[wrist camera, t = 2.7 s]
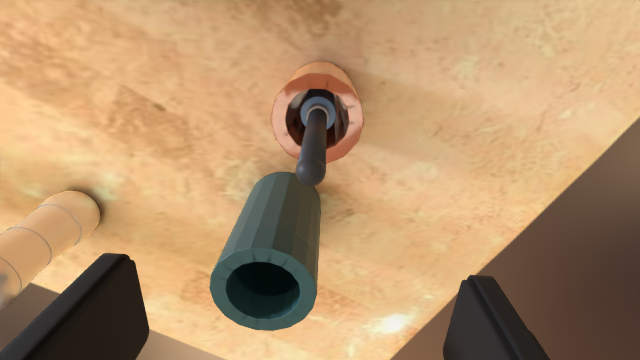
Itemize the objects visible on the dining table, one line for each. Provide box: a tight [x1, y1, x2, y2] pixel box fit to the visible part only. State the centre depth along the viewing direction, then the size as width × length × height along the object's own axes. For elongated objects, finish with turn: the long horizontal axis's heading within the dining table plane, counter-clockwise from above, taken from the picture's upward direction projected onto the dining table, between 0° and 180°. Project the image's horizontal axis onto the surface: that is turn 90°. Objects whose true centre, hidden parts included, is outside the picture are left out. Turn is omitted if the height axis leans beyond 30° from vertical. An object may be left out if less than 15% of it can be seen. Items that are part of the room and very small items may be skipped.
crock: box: [271, 62, 364, 164], centre depth 33 cm, size 8×8×11 cm
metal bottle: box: [0, 191, 100, 311], centre depth 35 cm, size 6×7×20 cm
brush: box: [296, 89, 336, 186], centre depth 27 cm, size 3×3×22 cm
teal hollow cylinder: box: [210, 172, 321, 331], centre depth 36 cm, size 9×9×16 cm
